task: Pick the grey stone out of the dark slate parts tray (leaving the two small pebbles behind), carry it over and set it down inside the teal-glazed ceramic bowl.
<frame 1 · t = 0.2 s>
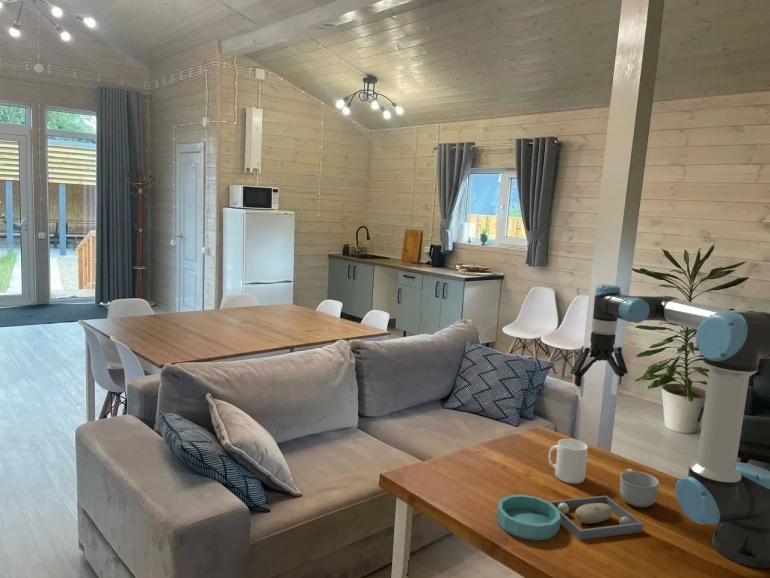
hand: (596, 395, 195), 28 cm above the table, fingers open, 13 cm apart
pebble b: (624, 527, 165), on the table
bowl: (527, 523, 164), on the table
teacup: (635, 500, 182), on the table
pebble a: (562, 513, 171), on the table
mug: (565, 477, 195), on the table
stone: (593, 521, 168), on the table
tray: (593, 520, 168), on the table
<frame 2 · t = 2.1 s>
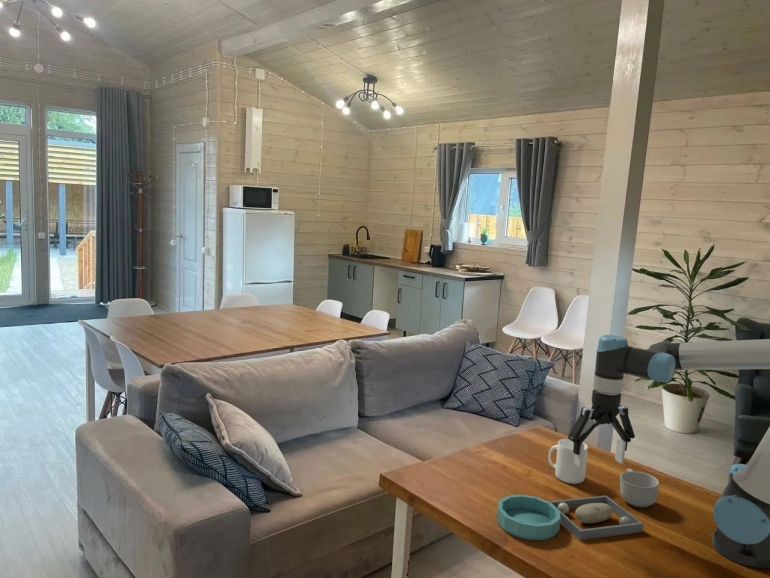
hand: (598, 463, 166), 17 cm above the table, fingers open, 13 cm apart
nothing on the table moved.
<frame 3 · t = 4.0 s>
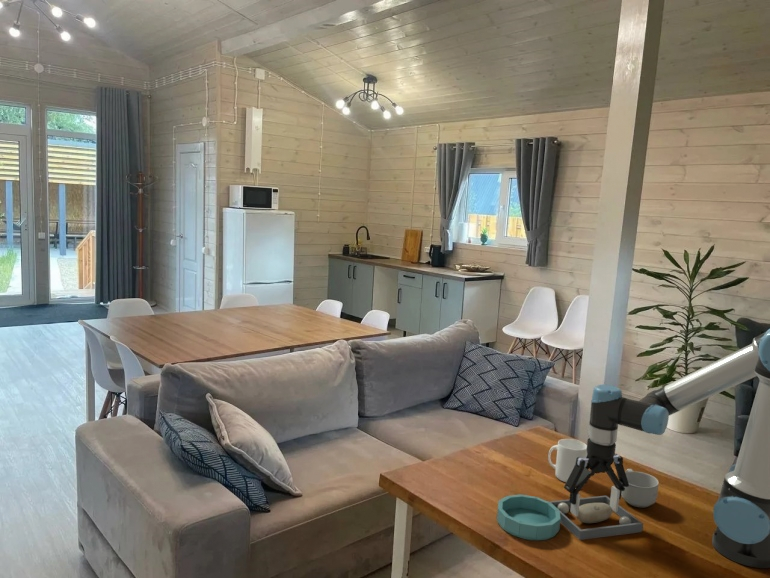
hand: (594, 511, 168), 3 cm above the table, fingers closed on stone, 12 cm apart
stone: (592, 521, 168), on the table, touching gripper
everything else where it was.
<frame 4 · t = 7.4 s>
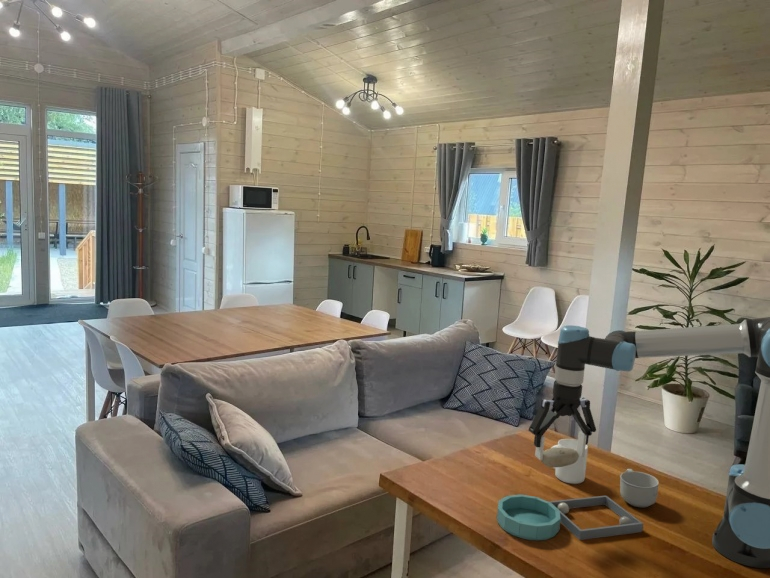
hand: (559, 456, 164), 19 cm above the table, fingers closed on stone, 12 cm apart
stone: (558, 466, 164), point 17 cm above the table, touching gripper
everything else where it was.
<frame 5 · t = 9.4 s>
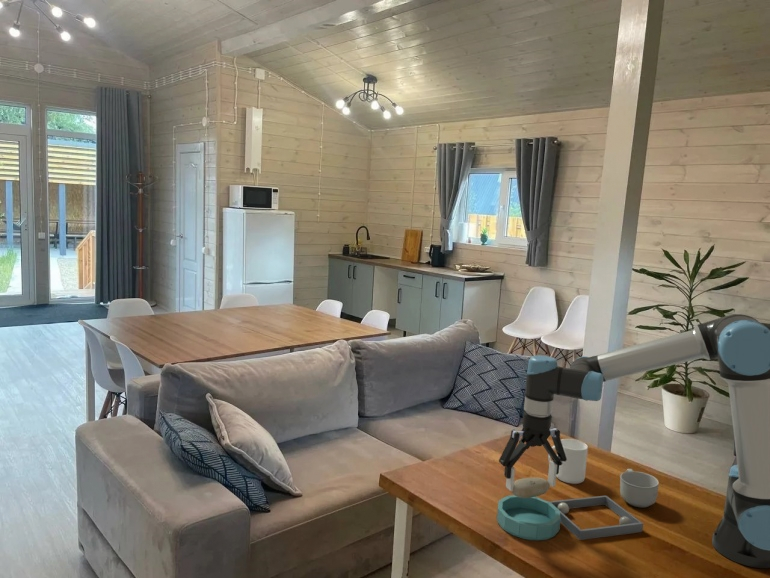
hand: (530, 486, 163), 11 cm above the table, fingers closed on stone, 12 cm apart
stone: (529, 496, 163), point 8 cm above the table, touching gripper
everything else where it was.
when the fingers open (6 cm above the table, at t = 11.0 s): stone drops 3 cm, resting on bowl.
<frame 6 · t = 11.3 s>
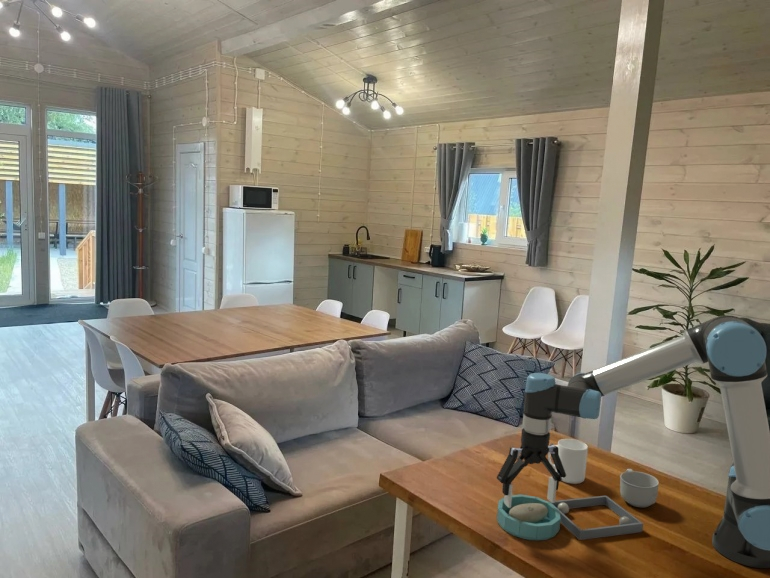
hand: (529, 503, 164), 6 cm above the table, fingers open, 13 cm apart
stone: (527, 522, 164), point 1 cm above the table, touching bowl
everything else where it was.
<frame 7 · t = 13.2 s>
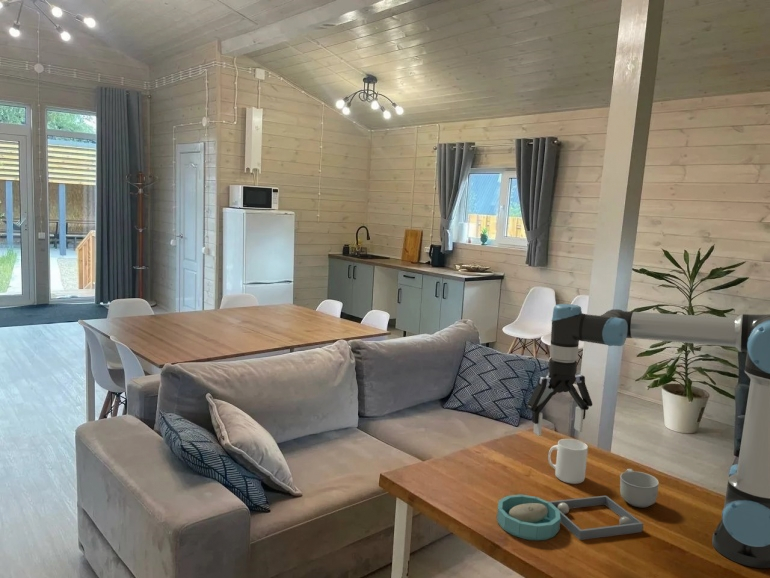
hand: (557, 432, 167), 25 cm above the table, fingers open, 13 cm apart
nothing on the table moved.
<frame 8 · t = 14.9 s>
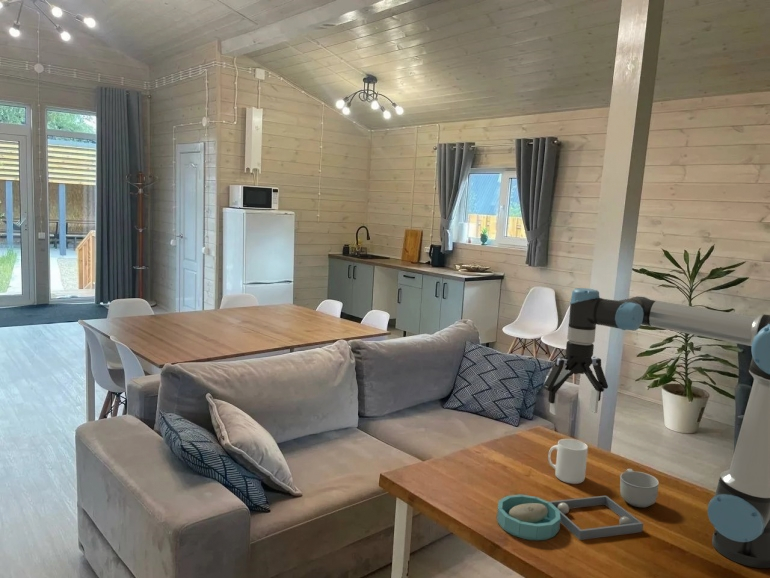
hand: (573, 412, 173), 29 cm above the table, fingers open, 13 cm apart
nothing on the table moved.
at the end: stone 0.1 cm from the bowl (horizontally); stone point 0.6 cm above the table; the gripper is holding nothing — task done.
